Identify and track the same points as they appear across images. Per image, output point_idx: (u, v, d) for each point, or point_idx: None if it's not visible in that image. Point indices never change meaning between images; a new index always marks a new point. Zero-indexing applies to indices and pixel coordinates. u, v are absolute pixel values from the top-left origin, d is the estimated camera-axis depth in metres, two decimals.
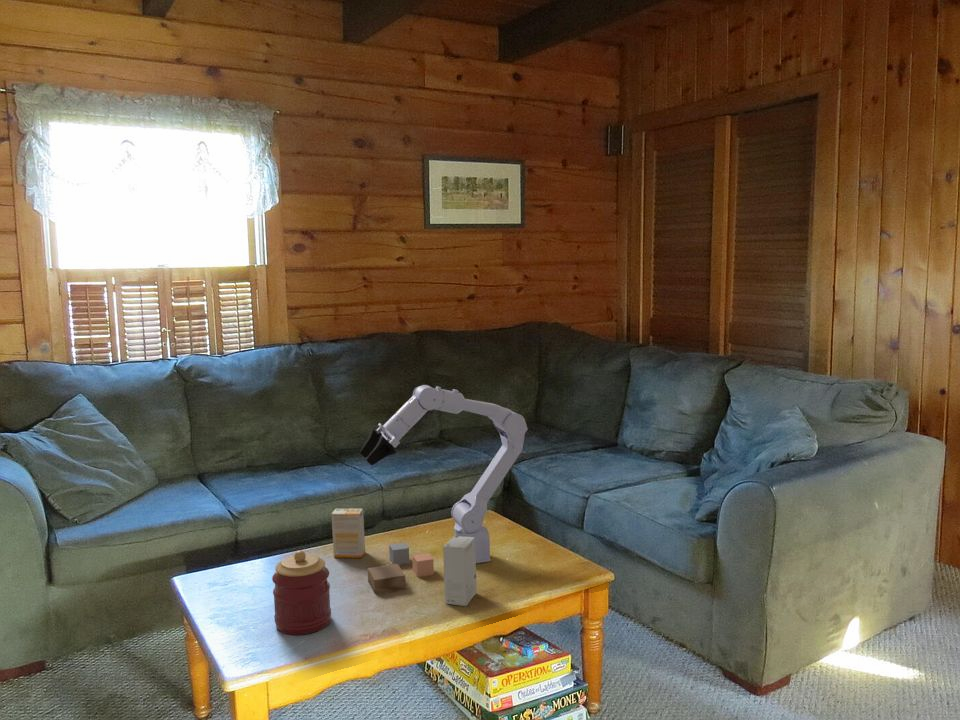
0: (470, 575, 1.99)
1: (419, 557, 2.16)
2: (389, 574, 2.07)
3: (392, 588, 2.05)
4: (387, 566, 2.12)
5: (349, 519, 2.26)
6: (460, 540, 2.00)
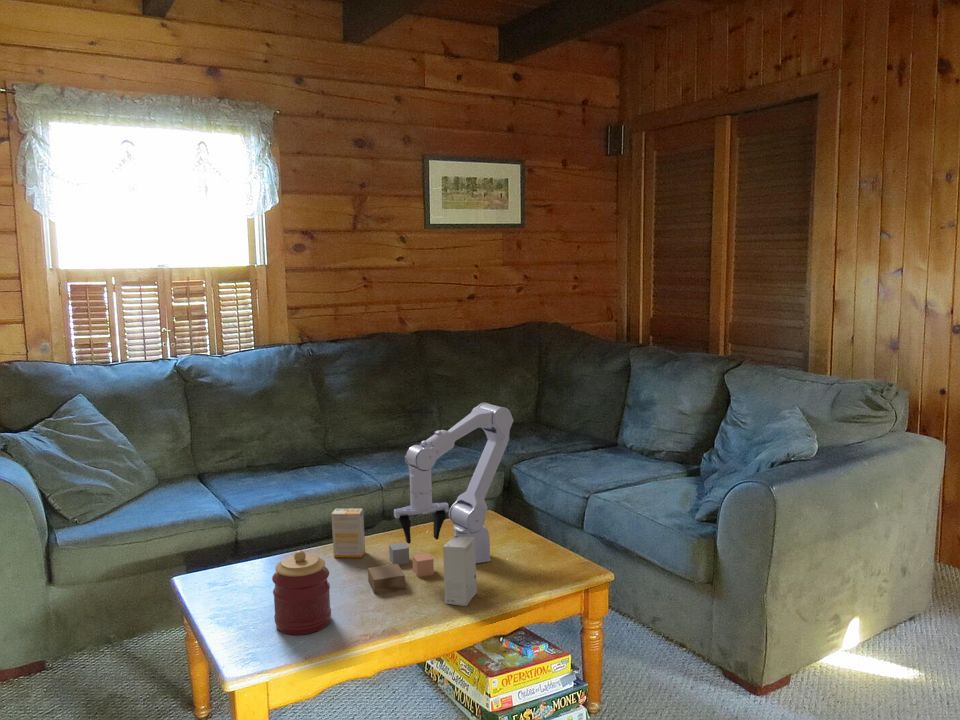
0: (470, 575, 1.99)
1: (419, 557, 2.16)
2: (388, 574, 2.07)
3: (392, 588, 2.05)
4: (387, 566, 2.12)
5: (349, 519, 2.26)
6: (460, 540, 2.00)
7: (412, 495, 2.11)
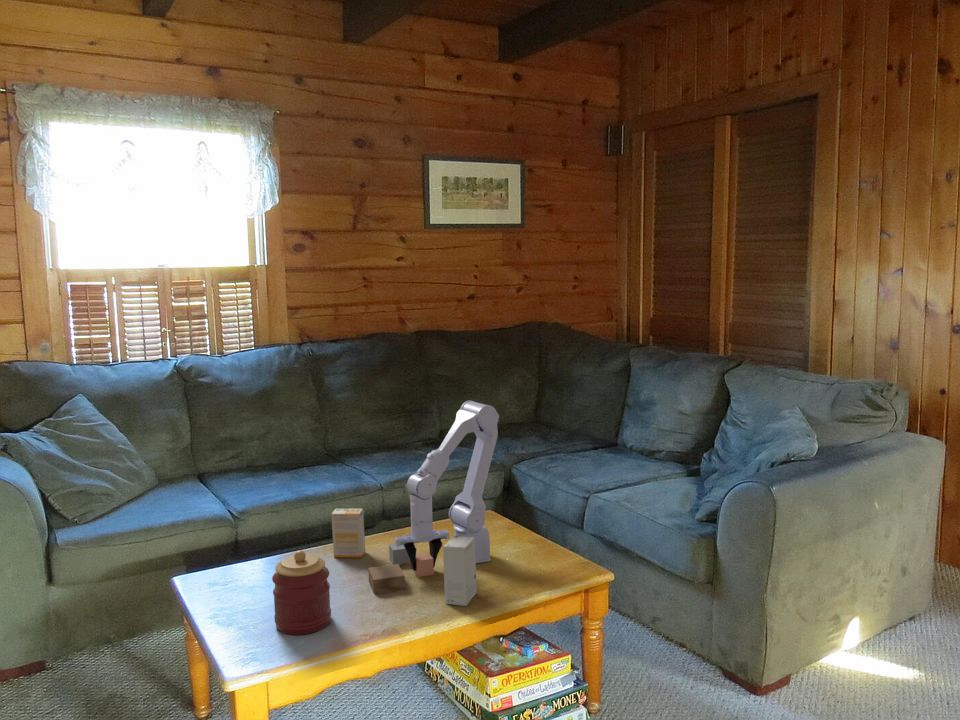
0: (470, 575, 1.99)
1: (419, 557, 2.16)
2: (388, 574, 2.07)
3: (391, 588, 2.05)
4: (388, 566, 2.12)
5: (349, 519, 2.26)
6: (460, 539, 2.00)
7: (413, 523, 2.13)
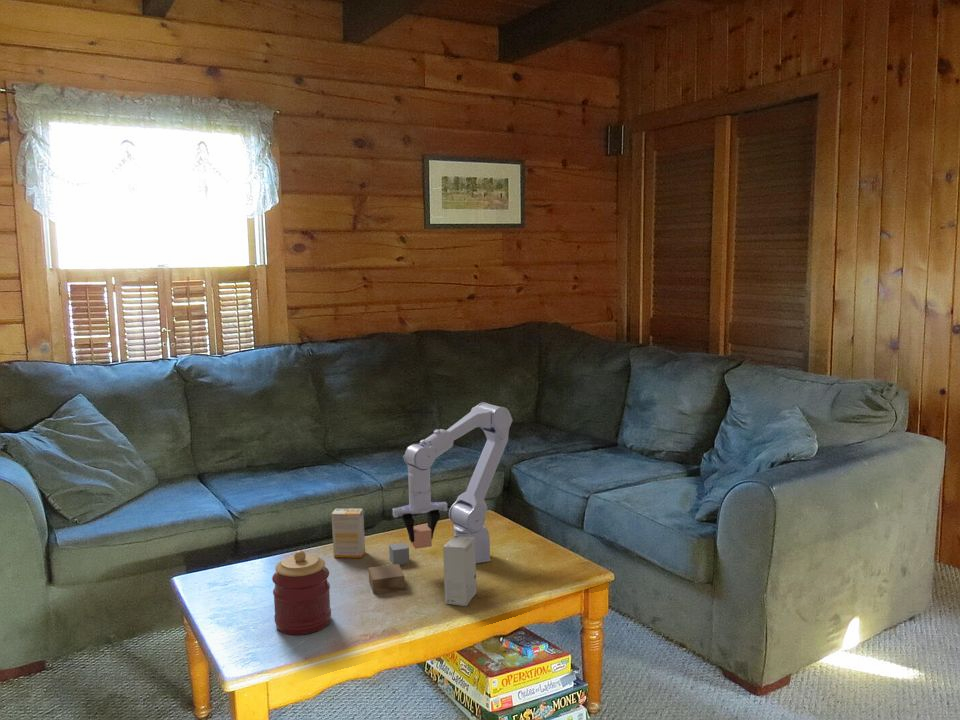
0: (470, 575, 1.99)
1: (417, 528, 2.14)
2: (388, 574, 2.07)
3: (391, 588, 2.05)
4: (388, 566, 2.12)
5: (349, 519, 2.26)
6: (460, 540, 2.00)
7: (411, 494, 2.11)
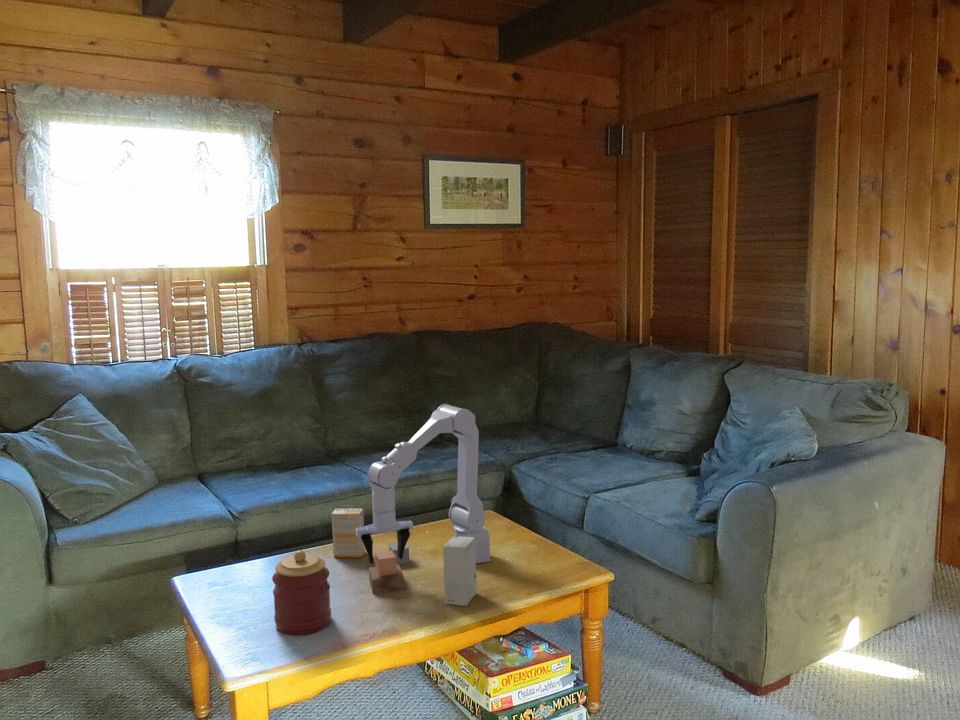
0: (470, 575, 1.99)
1: (381, 555, 2.08)
2: None
3: (390, 588, 2.05)
4: None
5: (349, 519, 2.26)
6: (460, 539, 2.00)
7: (374, 513, 2.04)
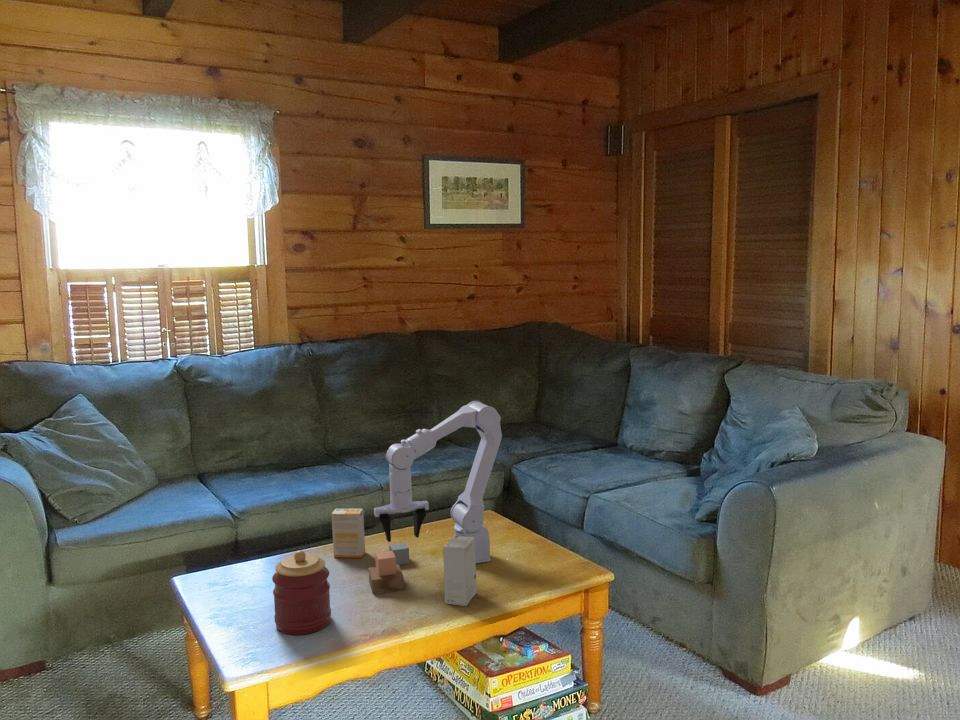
0: (470, 575, 1.99)
1: (381, 555, 2.08)
2: None
3: (390, 588, 2.05)
4: None
5: (349, 519, 2.26)
6: (460, 540, 2.00)
7: (392, 494, 2.12)
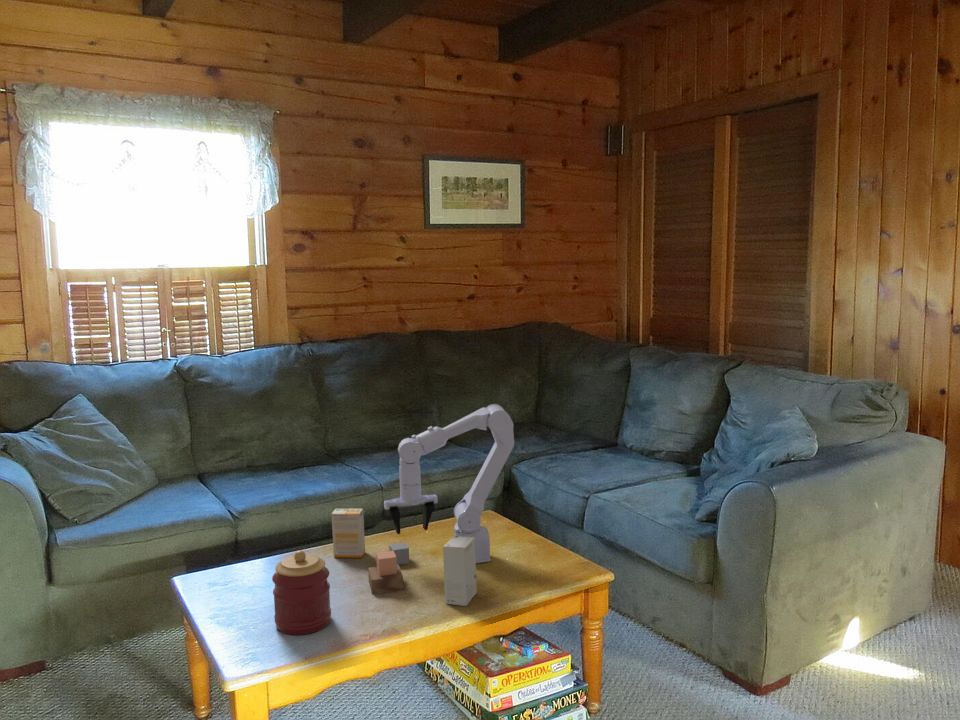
0: (470, 575, 1.99)
1: (382, 555, 2.08)
2: (387, 575, 2.07)
3: (390, 588, 2.05)
4: None
5: (349, 519, 2.26)
6: (460, 540, 2.00)
7: (402, 487, 2.18)
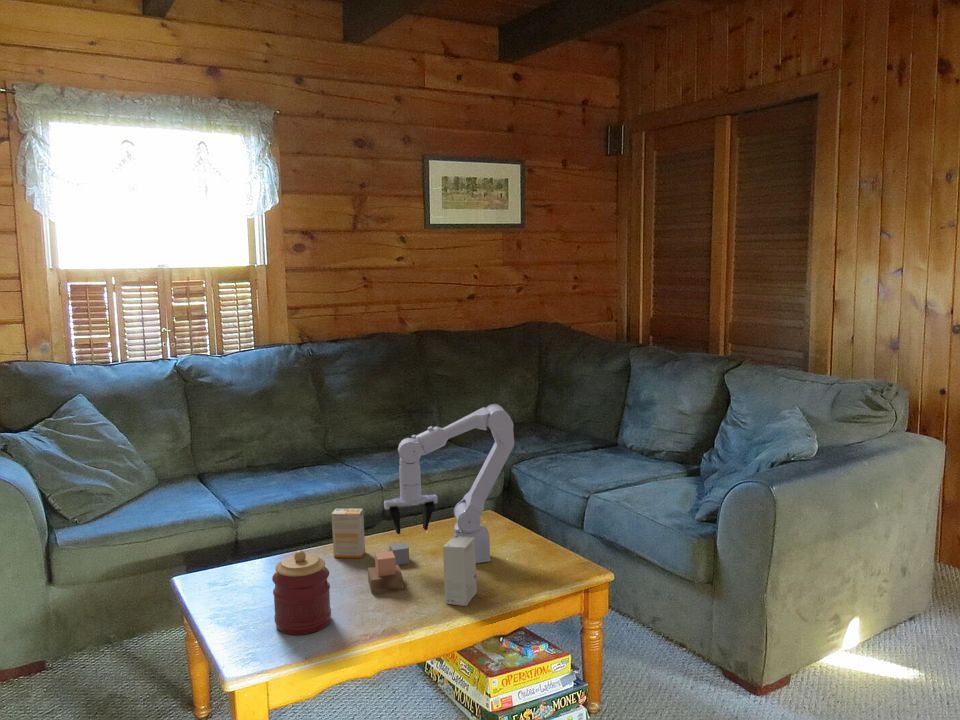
0: (470, 575, 1.99)
1: (381, 555, 2.08)
2: (387, 575, 2.07)
3: (389, 588, 2.05)
4: None
5: (349, 519, 2.26)
6: (460, 539, 2.00)
7: (402, 487, 2.18)
